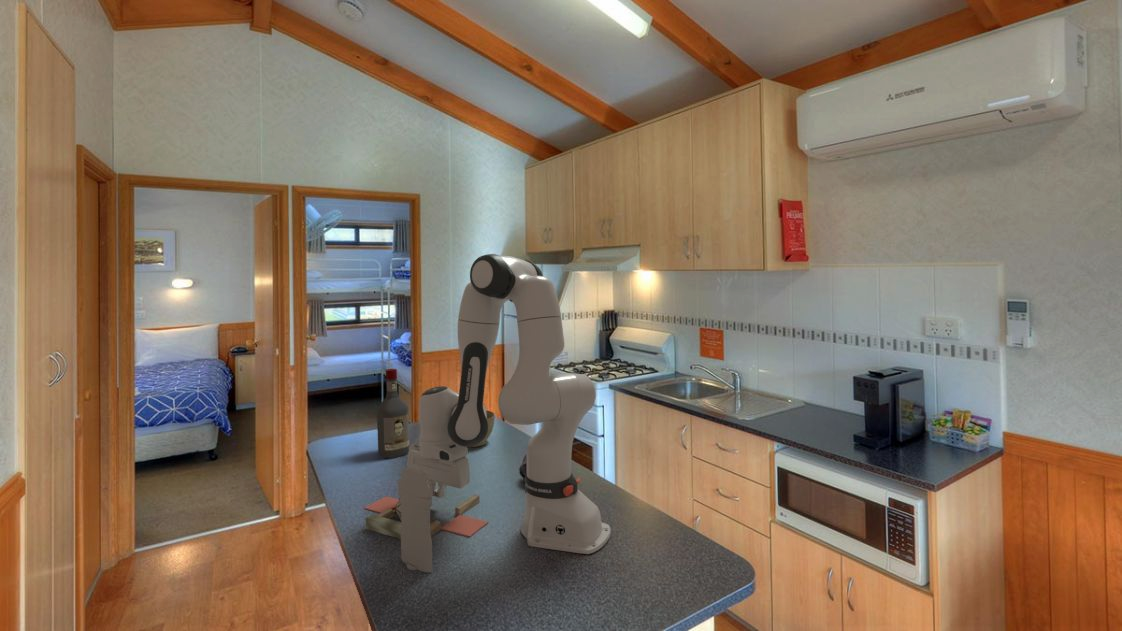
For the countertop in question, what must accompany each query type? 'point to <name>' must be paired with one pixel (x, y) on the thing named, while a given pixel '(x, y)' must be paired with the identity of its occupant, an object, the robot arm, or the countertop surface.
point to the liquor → (392, 421)
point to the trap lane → (393, 528)
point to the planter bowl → (490, 427)
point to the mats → (457, 525)
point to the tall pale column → (415, 520)
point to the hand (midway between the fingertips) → (438, 496)
